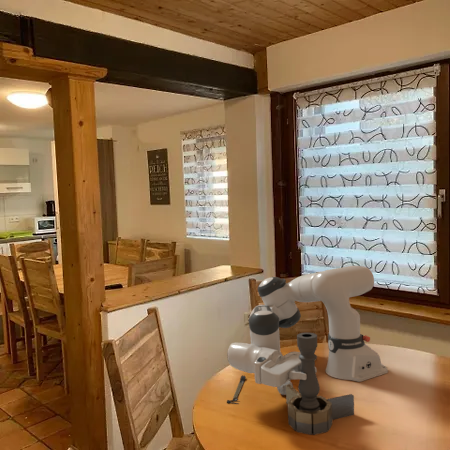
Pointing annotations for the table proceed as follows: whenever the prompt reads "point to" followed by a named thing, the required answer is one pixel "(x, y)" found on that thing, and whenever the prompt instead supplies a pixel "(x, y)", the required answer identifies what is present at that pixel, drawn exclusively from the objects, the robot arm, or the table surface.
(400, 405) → the table surface
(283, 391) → the garlic
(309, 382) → the candle holder
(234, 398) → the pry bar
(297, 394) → the octagonal collar with flanges
